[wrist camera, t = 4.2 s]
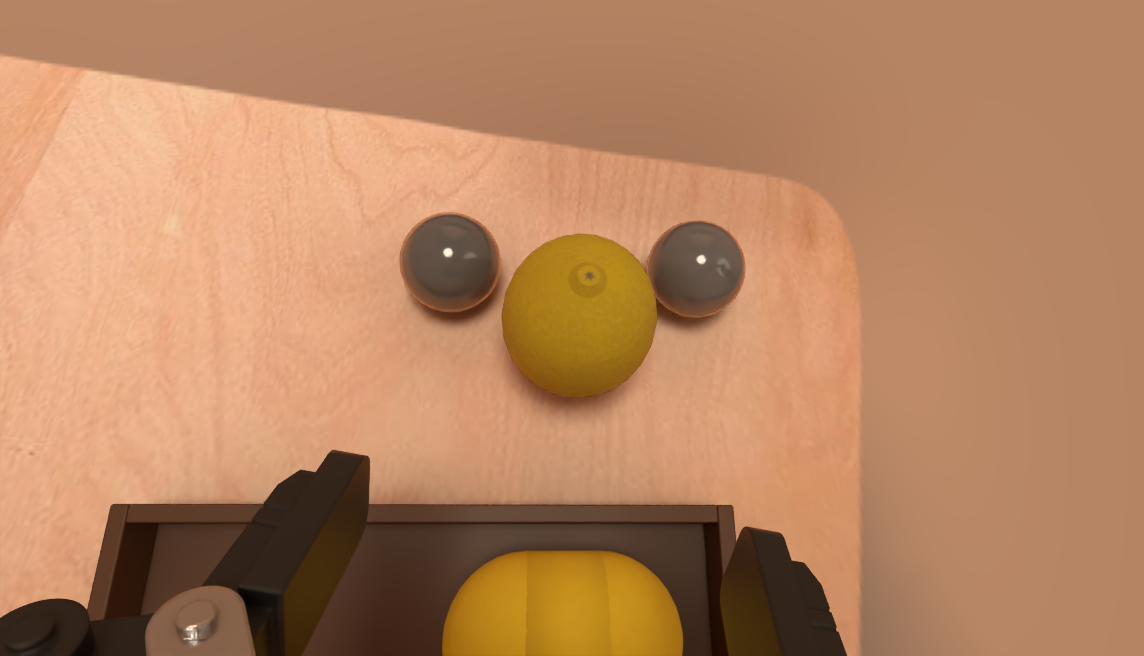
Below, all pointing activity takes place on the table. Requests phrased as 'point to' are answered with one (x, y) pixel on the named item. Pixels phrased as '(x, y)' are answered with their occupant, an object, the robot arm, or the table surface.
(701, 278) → the glossy gray ball
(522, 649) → the yellow ribbed oblong body
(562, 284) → the lemon
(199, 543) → the tray
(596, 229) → the table surface
